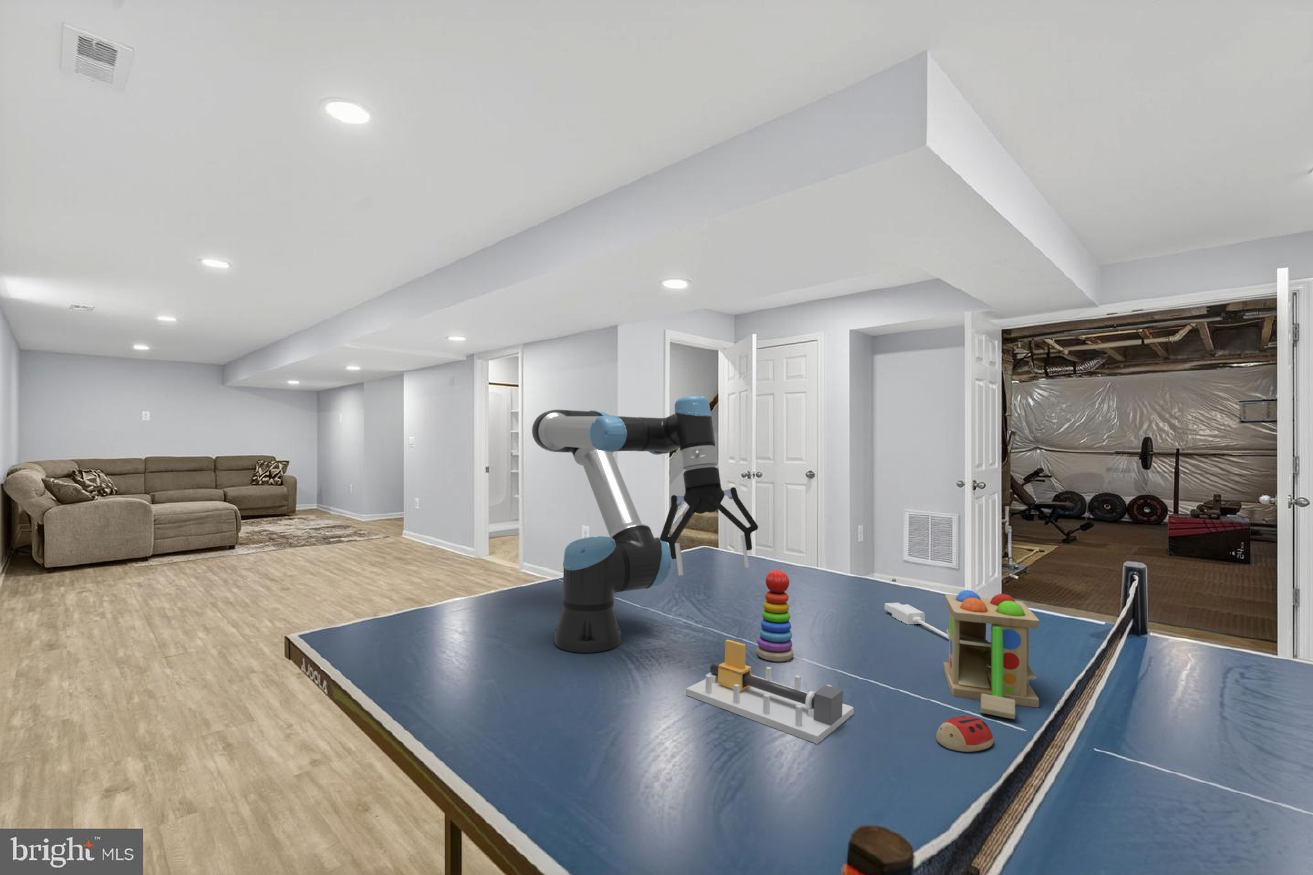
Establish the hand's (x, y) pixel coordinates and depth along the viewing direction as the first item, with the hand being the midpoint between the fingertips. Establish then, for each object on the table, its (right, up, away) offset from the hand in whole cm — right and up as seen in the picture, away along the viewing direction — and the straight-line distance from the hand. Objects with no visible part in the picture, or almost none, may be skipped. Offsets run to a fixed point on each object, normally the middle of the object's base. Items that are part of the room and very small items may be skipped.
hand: (714, 571), depth 123 cm
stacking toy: (+14, -21, +9) cm, 26 cm away
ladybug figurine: (+37, -21, -27) cm, 51 cm away
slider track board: (+8, -20, -15) cm, 27 cm away
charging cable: (+57, -22, +29) cm, 67 cm away
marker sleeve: (+3, -19, -11) cm, 22 cm away
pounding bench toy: (+52, -22, -9) cm, 57 cm away
